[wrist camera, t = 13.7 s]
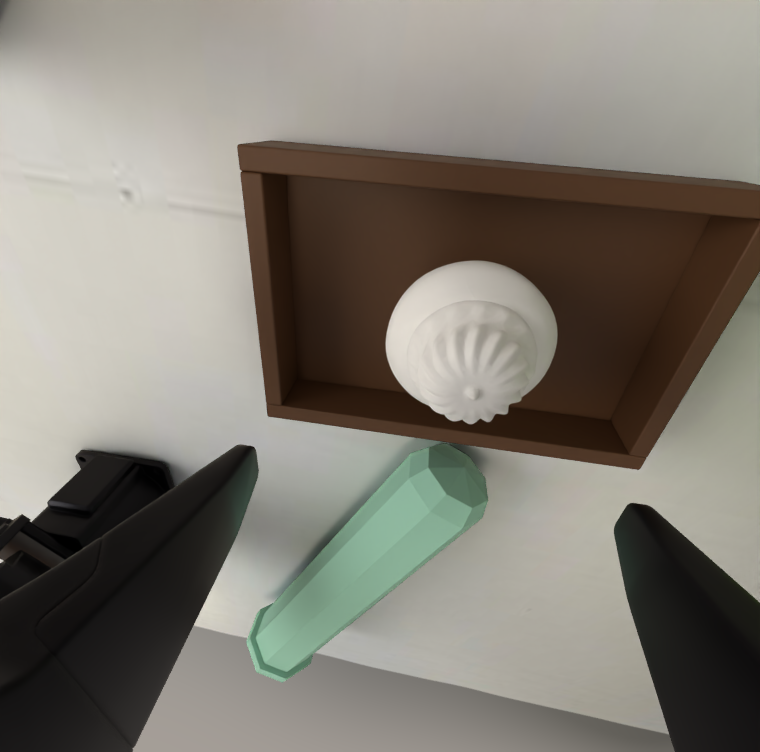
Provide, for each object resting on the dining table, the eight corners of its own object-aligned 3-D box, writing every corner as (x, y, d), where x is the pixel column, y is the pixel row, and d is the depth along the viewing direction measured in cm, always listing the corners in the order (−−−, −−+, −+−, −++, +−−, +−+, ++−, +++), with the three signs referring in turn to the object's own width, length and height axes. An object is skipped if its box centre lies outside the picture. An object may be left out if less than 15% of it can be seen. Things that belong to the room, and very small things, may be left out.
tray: (615, 426, 21) (639, 470, 18) (287, 382, 22) (267, 416, 19) (741, 181, 14) (807, 194, 12) (270, 140, 16) (236, 144, 13)
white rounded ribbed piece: (531, 219, 15) (584, 278, 9) (542, 354, 18) (588, 462, 12) (379, 257, 17) (344, 327, 11) (412, 375, 20) (398, 480, 14)
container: (438, 515, 17) (244, 687, 30) (528, 525, 20) (316, 678, 33) (403, 413, 21) (247, 602, 34) (482, 433, 24) (311, 600, 37)
